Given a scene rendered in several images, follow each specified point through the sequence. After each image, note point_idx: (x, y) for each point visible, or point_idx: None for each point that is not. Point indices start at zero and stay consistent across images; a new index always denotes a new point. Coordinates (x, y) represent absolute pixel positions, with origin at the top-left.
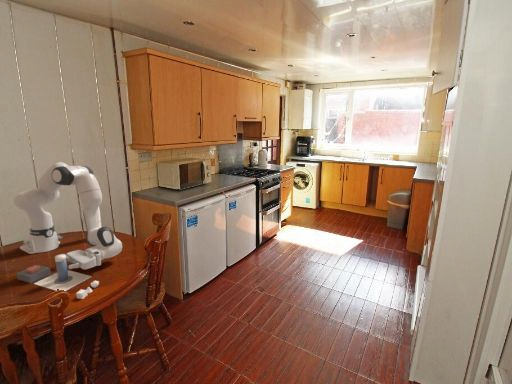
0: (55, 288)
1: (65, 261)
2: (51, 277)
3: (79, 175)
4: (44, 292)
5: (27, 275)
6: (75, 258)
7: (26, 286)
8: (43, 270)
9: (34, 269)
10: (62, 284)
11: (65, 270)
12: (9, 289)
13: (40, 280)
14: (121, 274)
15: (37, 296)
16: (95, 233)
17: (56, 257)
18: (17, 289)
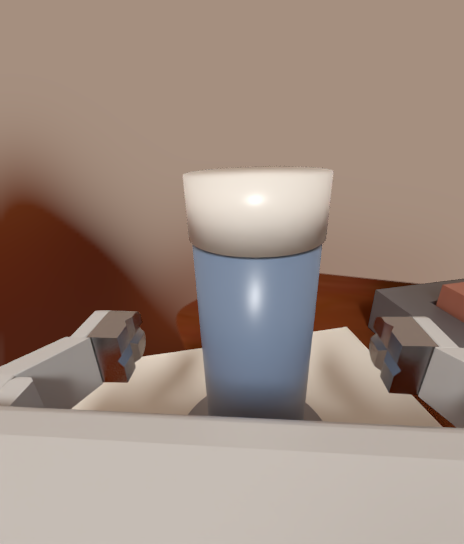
0: (173, 361)
1: (200, 271)
2: (380, 405)
3: None
4: (197, 329)
5: (407, 288)
6: (201, 428)
7: (339, 311)
8: (462, 345)
9: (460, 295)
10: (180, 404)
11: (205, 368)
12: (354, 283)
13: (368, 352)
14: None
15: (191, 308)
16: None
17: (252, 167)
18: (332, 293)
